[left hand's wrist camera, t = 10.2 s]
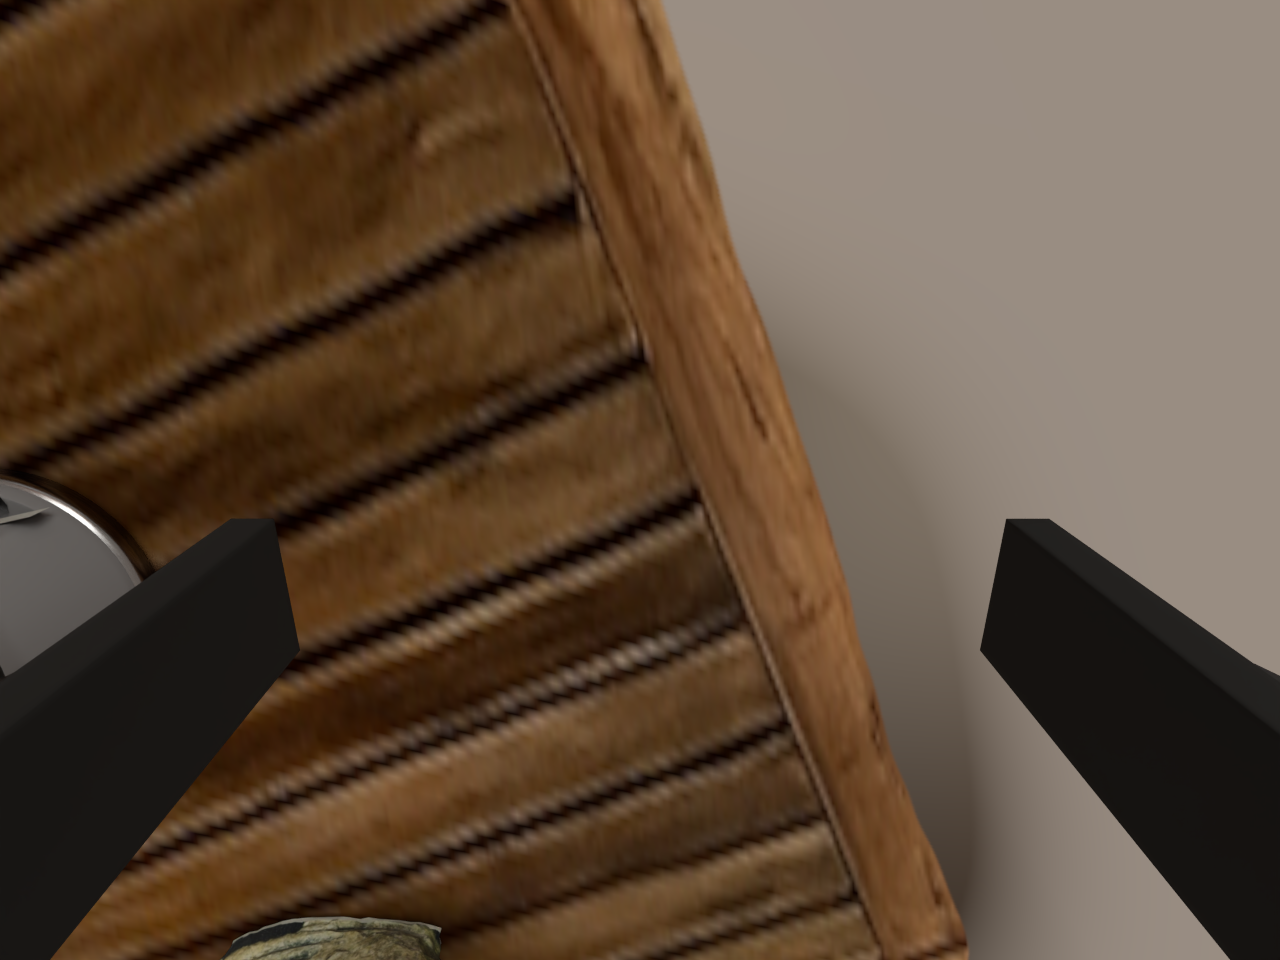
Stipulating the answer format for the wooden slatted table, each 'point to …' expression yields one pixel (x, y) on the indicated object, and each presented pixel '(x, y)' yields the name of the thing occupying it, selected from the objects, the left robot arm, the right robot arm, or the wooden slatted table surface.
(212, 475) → the wooden slatted table surface
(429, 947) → the fossil
